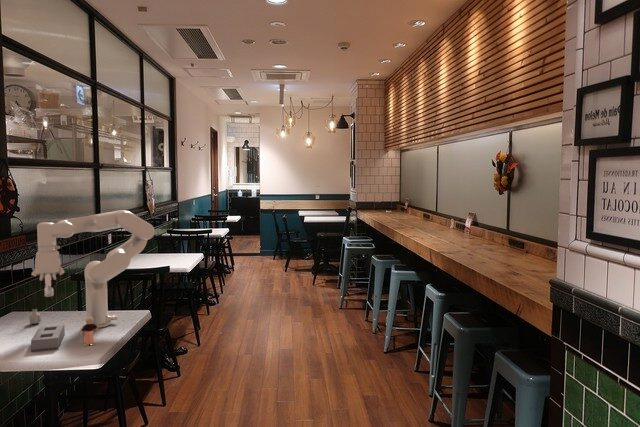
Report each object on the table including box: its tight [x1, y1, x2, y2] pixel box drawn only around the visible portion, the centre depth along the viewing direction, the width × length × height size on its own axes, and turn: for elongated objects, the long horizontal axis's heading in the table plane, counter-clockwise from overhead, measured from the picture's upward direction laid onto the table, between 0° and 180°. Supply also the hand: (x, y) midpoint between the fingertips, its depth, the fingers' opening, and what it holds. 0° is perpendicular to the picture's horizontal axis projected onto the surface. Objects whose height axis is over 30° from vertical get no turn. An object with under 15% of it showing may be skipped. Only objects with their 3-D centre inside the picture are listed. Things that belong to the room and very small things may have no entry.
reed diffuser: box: [23, 283, 42, 325], centre depth 242 cm, size 10×7×20 cm
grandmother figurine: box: [79, 316, 100, 347], centre depth 213 cm, size 8×4×13 cm, turn 148°
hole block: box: [30, 324, 66, 353], centre depth 215 cm, size 10×20×5 cm, turn 21°
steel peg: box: [43, 273, 54, 298], centre depth 229 cm, size 4×4×12 cm
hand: (48, 287), depth 229 cm, fingers closed on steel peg, 3 cm apart
